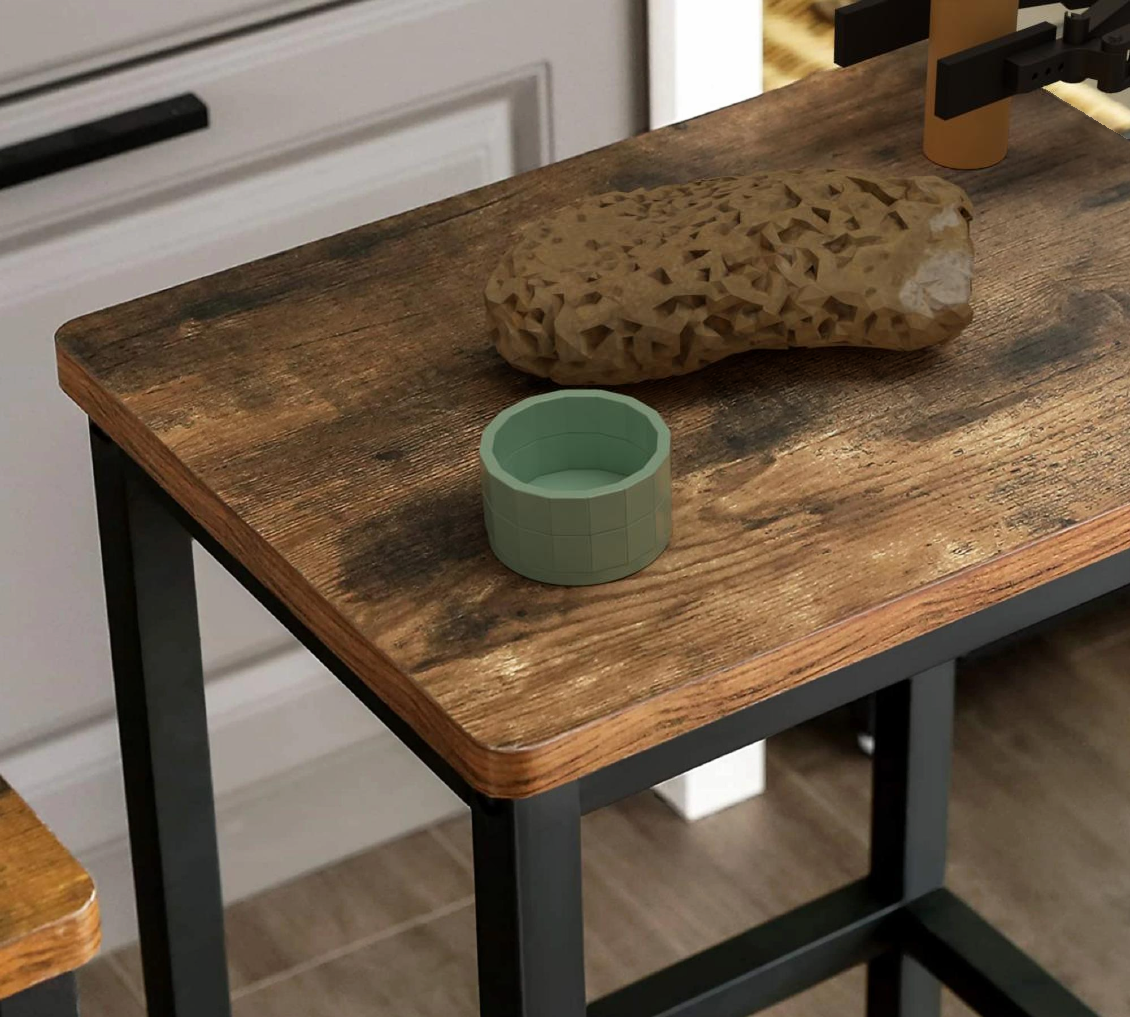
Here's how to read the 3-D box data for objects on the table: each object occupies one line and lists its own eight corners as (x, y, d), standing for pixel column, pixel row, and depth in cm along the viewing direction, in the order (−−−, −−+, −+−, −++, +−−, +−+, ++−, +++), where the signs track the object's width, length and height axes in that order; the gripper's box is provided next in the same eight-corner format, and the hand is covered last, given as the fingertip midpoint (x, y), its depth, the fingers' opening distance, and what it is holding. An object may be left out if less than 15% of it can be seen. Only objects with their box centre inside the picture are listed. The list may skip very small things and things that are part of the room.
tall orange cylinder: (1017, 139, 105) (1033, -58, 99) (992, 175, 102) (1007, -25, 96) (938, 126, 107) (949, -69, 101) (911, 161, 104) (921, -37, 98)
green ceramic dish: (702, 499, 83) (701, 412, 80) (623, 605, 78) (619, 515, 75) (539, 458, 85) (534, 373, 83) (454, 558, 80) (445, 471, 78)
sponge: (939, 279, 97) (503, 201, 97) (989, 143, 91) (525, 58, 91) (942, 491, 88) (462, 406, 88) (997, 355, 82) (483, 263, 82)
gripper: (1386, 71, 104) (1030, 217, 94) (1096, -47, 117) (759, 69, 108) (1414, -79, 100) (1044, 57, 90) (1110, -185, 113) (759, -76, 103)
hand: (889, 63), depth 99 cm, fingers open, 6 cm apart
